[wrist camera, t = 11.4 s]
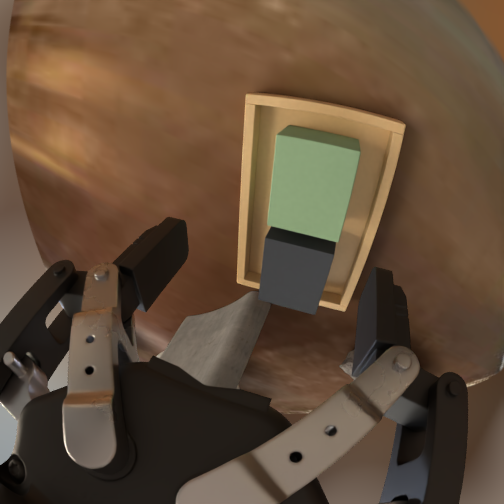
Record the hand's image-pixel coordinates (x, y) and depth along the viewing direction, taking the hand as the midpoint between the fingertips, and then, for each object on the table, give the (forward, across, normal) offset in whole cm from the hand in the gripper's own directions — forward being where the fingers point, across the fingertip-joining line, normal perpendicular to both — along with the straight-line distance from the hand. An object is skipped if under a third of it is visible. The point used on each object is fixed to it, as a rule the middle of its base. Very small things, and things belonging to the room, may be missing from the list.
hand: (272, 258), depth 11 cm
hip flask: (+13, +8, +22) cm, 27 cm away
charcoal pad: (+13, 0, +9) cm, 15 cm away
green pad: (+13, 0, +1) cm, 13 cm away
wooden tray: (+13, 0, +4) cm, 14 cm away
